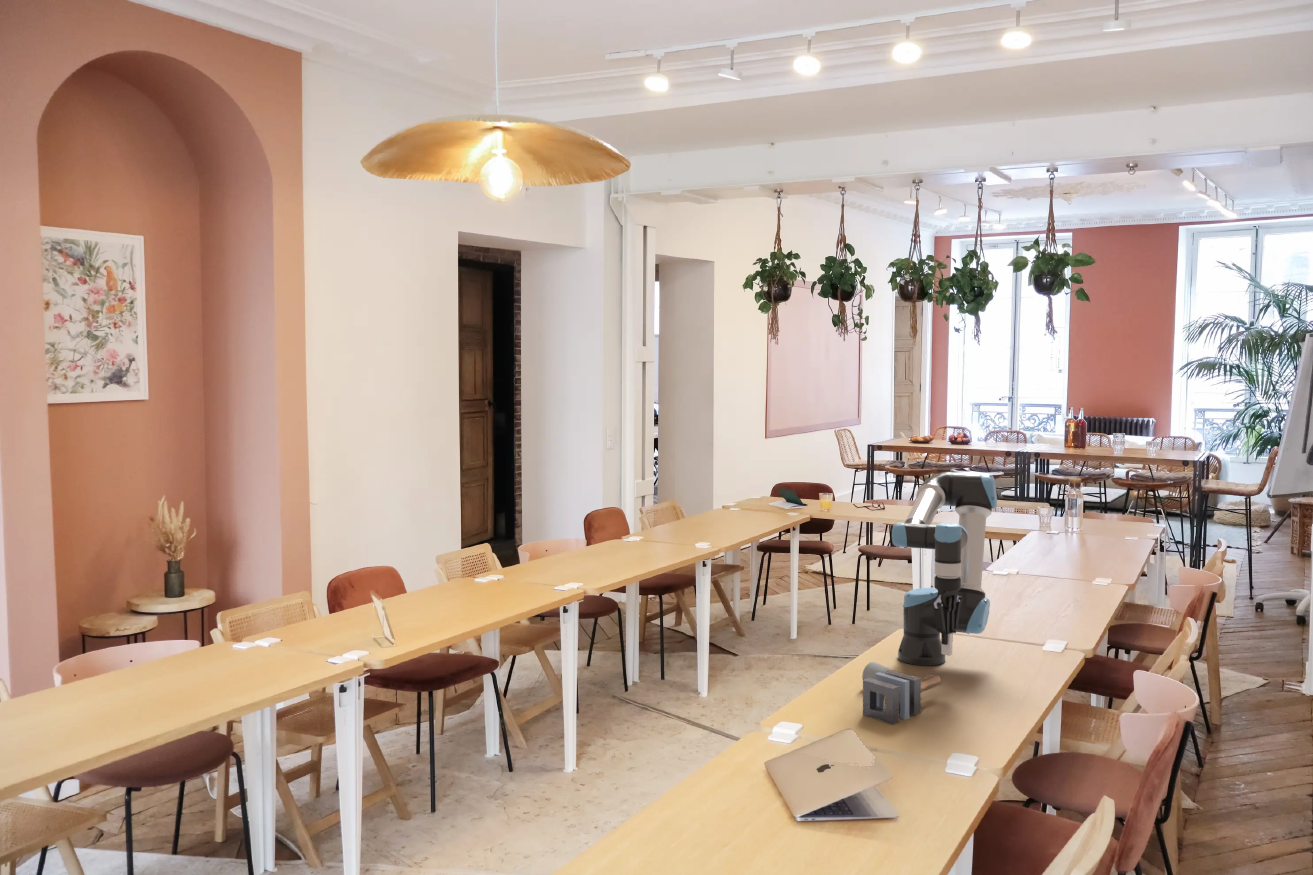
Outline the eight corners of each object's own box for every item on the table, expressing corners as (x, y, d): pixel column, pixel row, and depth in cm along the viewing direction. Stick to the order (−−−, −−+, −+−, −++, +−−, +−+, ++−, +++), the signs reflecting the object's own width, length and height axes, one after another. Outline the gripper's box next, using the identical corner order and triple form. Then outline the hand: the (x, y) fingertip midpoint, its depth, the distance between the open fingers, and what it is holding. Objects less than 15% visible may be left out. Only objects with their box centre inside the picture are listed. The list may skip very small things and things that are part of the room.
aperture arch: (879, 708, 279) (879, 672, 278) (909, 717, 271) (909, 680, 270) (874, 710, 277) (874, 673, 277) (904, 719, 270) (905, 682, 269)
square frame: (891, 703, 282) (891, 670, 281) (920, 713, 275) (920, 678, 274) (884, 706, 280) (884, 672, 279) (914, 715, 273) (914, 680, 272)
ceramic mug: (882, 695, 289) (882, 670, 289) (861, 688, 296) (861, 663, 295) (906, 689, 295) (906, 664, 295) (885, 682, 302) (885, 657, 301)
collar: (869, 712, 276) (869, 677, 275) (899, 721, 268) (899, 686, 267) (862, 714, 274) (862, 680, 273) (892, 724, 266) (892, 688, 265)
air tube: (929, 685, 289) (929, 671, 289) (941, 688, 286) (941, 674, 286) (887, 701, 276) (887, 686, 276) (900, 704, 273) (900, 690, 273)
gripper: (949, 570, 296) (948, 647, 297) (923, 577, 287) (923, 655, 289) (971, 574, 290) (970, 652, 292) (946, 580, 282) (945, 661, 283)
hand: (946, 654), depth 290 cm, fingers closed
